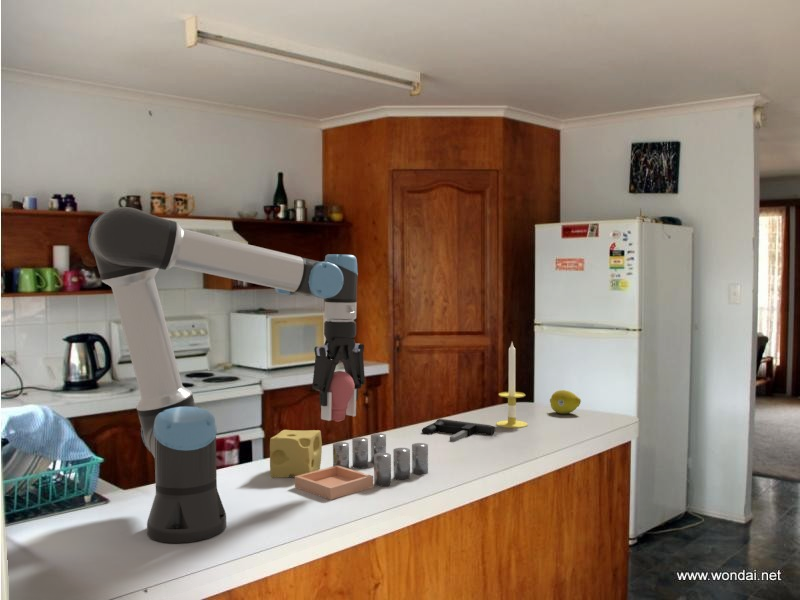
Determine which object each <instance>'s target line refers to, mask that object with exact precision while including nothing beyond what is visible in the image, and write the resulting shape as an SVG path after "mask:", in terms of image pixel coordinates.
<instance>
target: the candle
mask: <svg viewBox="0 0 800 600" xmlns="http://www.w3.org/2000/svg"><path fill="white" fill-rule="evenodd" d="M498 396H499V397H501V398H506V399H507V419H506V420H505V419H504V420H499V421H497V422H496V423H495V425H496V426H498V427H500V428H505V429H522V428H526V427H528V423H527V422H525V421H522V420H517V398H518V399H519V398H524V397H526V394H525V393H524V392H521V391H516V348H515V347H514V343H513V342H511V343H510V346H509V348H508V391H502V392H499V393H498Z"/></svg>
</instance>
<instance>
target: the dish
mask: <svg viewBox="0 0 800 600" xmlns="http://www.w3.org/2000/svg"><path fill="white" fill-rule="evenodd" d="M294 488H295V489H299V490H302V491H304V492H307V493H310V494H313V495H316V496H319V497H322V498H325V499H327V500H330V501H331V500H334V499H338V498H340V497H345V496H348V495H351V494H353V493H354V494H355V493H358V492H361V491H364V490H368V489H371V488H374V475H371V474H369V473H364V472H362V471H358V470H356V469H351V468H349V469H348V468H345V467H341V466H338V465H336V466H333V465H332V466H330V467H325V468H320V469H319V470H317V471H313V472H310V473H306V474H302V475H298V476H295V477H294Z"/></svg>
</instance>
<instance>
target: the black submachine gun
mask: <svg viewBox="0 0 800 600" xmlns="http://www.w3.org/2000/svg"><path fill="white" fill-rule="evenodd" d="M421 432H422V434H426V435H432V434H435V433H443V434H449V435H451V436H449V441H450V442H455V443H456V442H458V441H459V440H462V439H465V438H467V437H471V436H473V435H476V434H479V435H480V434H481V435H489V436H490V435H492V436H493V435H494V434H495V432H496V428H495V426H493V425H491V424H485V423H484V424H483V423H476V422H468V421H461V420H453V419H446V418H445V419H443V418H438V419H436V420H435V422H433V423H431V424H428V425H427V426H424V427H423V428H422V429H421Z"/></svg>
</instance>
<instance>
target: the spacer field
mask: <svg viewBox="0 0 800 600" xmlns="http://www.w3.org/2000/svg"><path fill="white" fill-rule="evenodd" d="M351 441H352V442H351V443H352V444H351V447H352V449H351V451H352V453H351V454H352V468H353V467H354V468H353V469H359V470H361V469H366V468H368V467H369V439H368V438H366V437H355V438H352V440H351ZM392 450H393V453H392V454H393V457H392V454H390V453H388V452H387V434H385V433H379V432H378V433H372V434H370V462H371V463H373V486H376V487H380V488H381V487H389V486H391V485H392V473H391V472H392V467H391V465H392V458H393V480H395V481H399V482H400V481H401V482H402V481H409V480H410V479H411V473H412V475H417V476H424V475H428V474H429V444H428V443H423V442H417V443H415V442H414V443H412V445H411V450H410V448H407V447H395V448H393V449H392ZM336 465H338V466H341V467H345V468H348V469H350V443H349V442H345V441H337V442H334V443H332V466H336Z"/></svg>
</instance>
